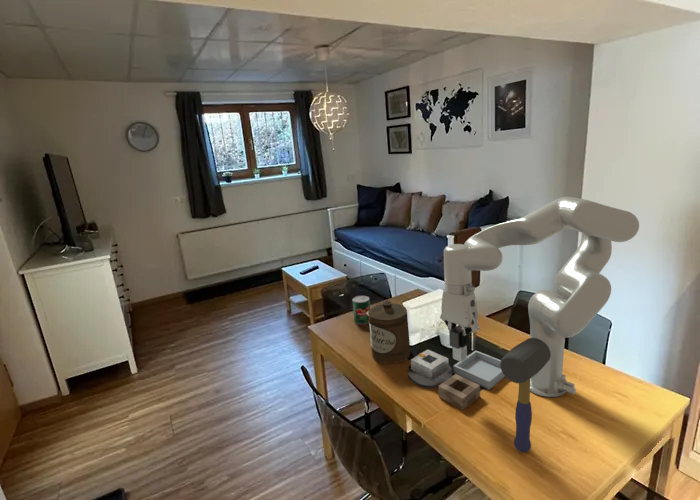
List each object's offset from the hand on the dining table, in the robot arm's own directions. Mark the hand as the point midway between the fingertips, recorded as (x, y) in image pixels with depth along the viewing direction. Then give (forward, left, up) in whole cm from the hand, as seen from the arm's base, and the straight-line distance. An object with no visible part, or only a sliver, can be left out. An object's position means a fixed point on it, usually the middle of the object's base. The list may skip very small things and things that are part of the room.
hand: (459, 342), depth 117 cm
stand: (0, 0, -19) cm, 19 cm away
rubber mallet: (-24, +7, -19) cm, 31 cm away
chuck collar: (+14, -3, -17) cm, 22 cm away
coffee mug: (+50, -13, -19) cm, 55 cm away
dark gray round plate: (+14, -3, -19) cm, 24 cm away
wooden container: (+34, -4, -19) cm, 39 cm away
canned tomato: (+64, -16, -19) cm, 69 cm away
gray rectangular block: (0, 0, -5) cm, 5 cm away
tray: (+2, -16, -19) cm, 25 cm away
